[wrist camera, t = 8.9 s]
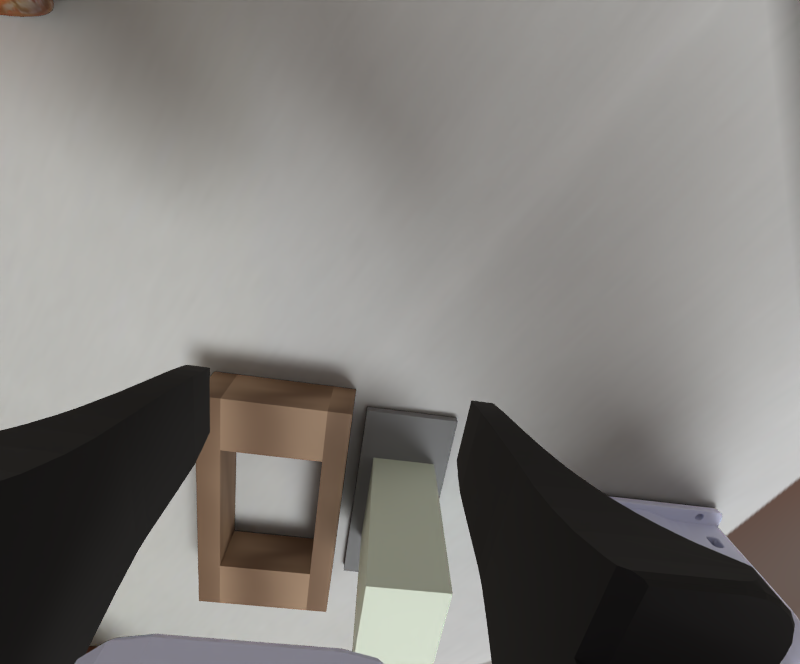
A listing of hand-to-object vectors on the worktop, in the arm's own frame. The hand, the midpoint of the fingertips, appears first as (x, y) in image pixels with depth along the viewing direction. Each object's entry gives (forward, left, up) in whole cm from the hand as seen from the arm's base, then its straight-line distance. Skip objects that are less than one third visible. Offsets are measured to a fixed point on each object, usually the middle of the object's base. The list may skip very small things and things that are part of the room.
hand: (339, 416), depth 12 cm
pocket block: (+3, +12, -10) cm, 16 cm away
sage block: (-4, +12, -10) cm, 16 cm away
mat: (-4, +12, -10) cm, 16 cm away
